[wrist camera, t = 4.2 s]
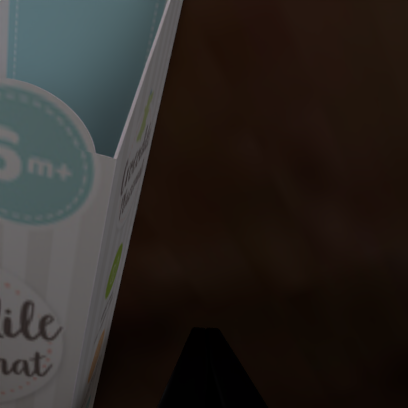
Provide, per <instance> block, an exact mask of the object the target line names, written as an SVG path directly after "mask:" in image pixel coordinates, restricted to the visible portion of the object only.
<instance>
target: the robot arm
mask: <svg viewBox="0 0 408 408" xmlns="http://www.w3.org/2000/svg"><path fill="white" fill-rule="evenodd" d="M157 408H268V406H267V405H266V403H265V402H264V400H263V398H262V397H261V395H260V394H259V392H258V390H257V389H256V387H255V386H254V384H253V382H252V381H251V379H250V378H249V376H248V374H247V373H246V371H245V370H244V368H243V366H242V365H241V363H240V362H239V360H238V358H237V357H236V355H235V354H234V352H233V350H232V349H231V347H230V346H229V344H228V342H227V341H226V339H225V338H224V336H223V335H222V333H221V331H220V330H219V329H218V328H207V329H206V330H205V328H199V327H194V328H192V330H191V332H190V334H189V337H188V339H187V341H186V343H185V346H184V348H183V350H182V352H181V355H180V357H179V359H178V361H177V364H176V366H175V368H174V370H173V373H172V375H171V377H170V379H169V382H168V384H167V386H166V388H165V391H164V393H163V395H162V397H161V400H160V402H159V404H158V406H157Z"/></svg>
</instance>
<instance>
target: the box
mask: <svg viewBox="0 0 408 408" xmlns="http://www.w3.org/2000/svg"><path fill="white" fill-rule="evenodd" d="M182 3H183V0H0V408H93V404H94V399H95V395H96V390H97V386H98V381H99V377H100V372H101V368H102V363H103V359H104V354H105V350H106V345H107V341H108V336H109V332H110V327H111V322H112V318H113V313H114V309H115V304H116V300H117V295H118V291H119V286H120V282H121V277H122V273H123V268H124V264H125V259H126V255H127V250H128V246H129V241H130V237H131V232H132V228H133V223H134V219H135V214H136V210H137V205H138V201H139V196H140V192H141V187H142V183H143V178H144V174H145V169H146V165H147V160H148V156H149V151H150V147H151V142H152V138H153V133H154V129H155V124H156V120H157V115H158V111H159V106H160V102H161V97H162V93H163V88H164V84H165V79H166V75H167V70H168V66H169V61H170V57H171V52H172V48H173V43H174V39H175V34H176V30H177V25H178V21H179V16H180V12H181V7H182Z"/></svg>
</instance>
